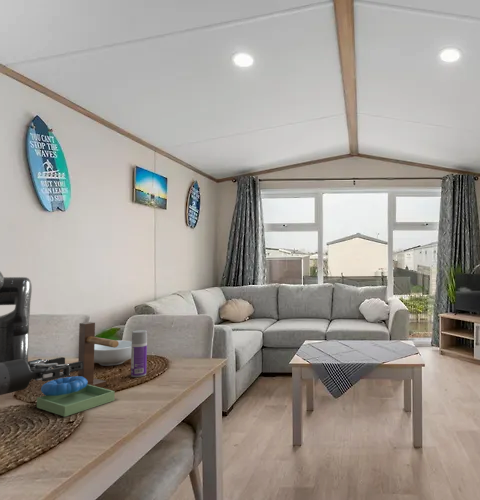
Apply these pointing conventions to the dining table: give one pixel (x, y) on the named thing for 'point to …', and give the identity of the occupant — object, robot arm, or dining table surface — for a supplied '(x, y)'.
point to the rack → (90, 352)
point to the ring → (64, 385)
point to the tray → (76, 400)
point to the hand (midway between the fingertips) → (73, 362)
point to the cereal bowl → (112, 353)
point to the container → (139, 353)
